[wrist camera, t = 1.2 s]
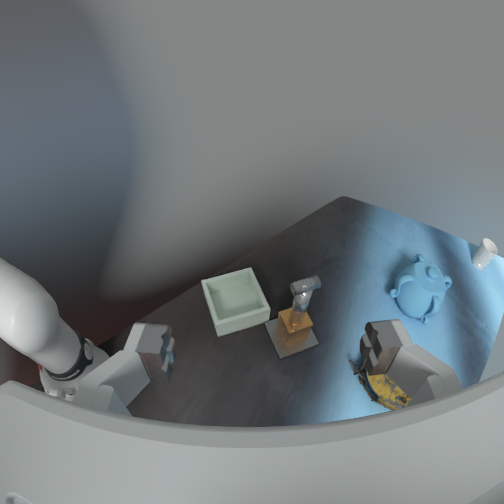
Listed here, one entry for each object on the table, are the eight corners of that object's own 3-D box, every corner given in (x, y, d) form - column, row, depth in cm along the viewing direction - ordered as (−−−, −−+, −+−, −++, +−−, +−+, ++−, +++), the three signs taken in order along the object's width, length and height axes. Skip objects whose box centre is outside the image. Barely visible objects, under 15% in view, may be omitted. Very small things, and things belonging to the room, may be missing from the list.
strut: (285, 347, 61) (299, 298, 46) (276, 327, 65) (285, 273, 49) (306, 339, 63) (327, 289, 47) (297, 320, 66) (313, 265, 51)
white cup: (486, 274, 76) (499, 256, 69) (472, 268, 78) (485, 250, 71) (482, 259, 81) (495, 242, 74) (469, 253, 83) (481, 235, 76)
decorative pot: (442, 304, 69) (464, 277, 59) (417, 335, 63) (443, 309, 53) (407, 270, 78) (425, 240, 68) (378, 296, 72) (397, 265, 62)
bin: (217, 336, 64) (215, 325, 60) (204, 294, 72) (201, 280, 68) (268, 321, 67) (270, 309, 63) (250, 281, 75) (251, 267, 71)
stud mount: (279, 360, 60) (283, 348, 55) (263, 324, 67) (265, 309, 61) (317, 345, 63) (325, 332, 57) (300, 312, 69) (305, 296, 63)
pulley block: (425, 453, 37) (352, 356, 54) (409, 457, 41) (341, 366, 58) (455, 414, 43) (389, 329, 61) (440, 421, 47) (378, 340, 65)
